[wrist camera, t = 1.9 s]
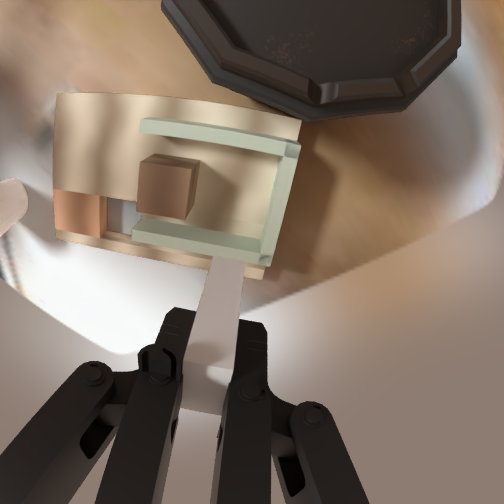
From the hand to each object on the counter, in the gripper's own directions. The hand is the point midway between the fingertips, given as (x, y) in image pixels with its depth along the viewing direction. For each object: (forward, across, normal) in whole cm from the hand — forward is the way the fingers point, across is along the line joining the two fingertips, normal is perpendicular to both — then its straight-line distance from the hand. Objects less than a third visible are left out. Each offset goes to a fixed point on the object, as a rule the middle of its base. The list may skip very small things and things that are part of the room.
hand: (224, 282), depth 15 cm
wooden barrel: (+18, +2, +17) cm, 25 cm away
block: (+16, -7, 0) cm, 17 cm away
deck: (+18, -9, -1) cm, 20 cm away
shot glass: (+18, -30, -6) cm, 35 cm away
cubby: (+16, -3, 0) cm, 16 cm away
